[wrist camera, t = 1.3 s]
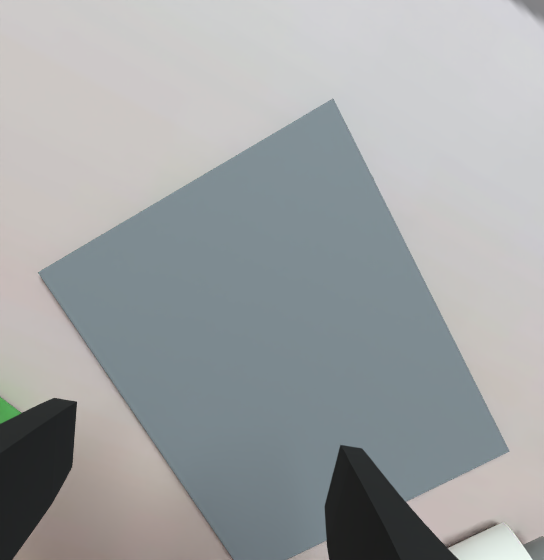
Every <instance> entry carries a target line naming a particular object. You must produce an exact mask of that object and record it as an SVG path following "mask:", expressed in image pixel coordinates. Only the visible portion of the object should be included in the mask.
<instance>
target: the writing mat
mask: <svg viewBox="0 0 544 560" xmlns="http://www.w3.org/2000/svg"><path fill="white" fill-rule="evenodd" d="M38 273H39V275H40V276H41V278H42V279H43V280H44V282H45V283H46V285H47V286H48V288H49V289H50V291H51V292H52V294H53V295H54V297H55V298H56V300H57V301H58V302H59V304H60V305H61V307H62V308H63V310H64V311H65V313H66V314H67V316H68V317H69V319H70V320H71V322H72V323H73V325H74V326H75V327H76V329H77V330H78V332H79V333H80V335H81V336H82V338H83V339H84V341H85V342H86V344H87V345H88V347H89V348H90V349H91V351H92V352H93V354H94V355H95V357H96V358H97V360H98V361H99V363H100V364H101V366H102V367H103V369H104V370H105V372H106V373H107V374H108V376H109V377H110V379H111V380H112V382H113V383H114V385H115V386H116V388H117V389H118V391H119V392H120V394H121V395H122V397H123V398H124V399H125V401H126V402H127V404H128V405H129V407H130V408H131V410H132V411H133V413H134V414H135V416H136V417H137V419H138V420H139V421H140V423H141V424H142V426H143V427H144V429H145V430H146V432H147V433H148V435H149V436H150V438H151V439H152V441H153V442H154V444H155V445H156V446H157V448H158V449H159V451H160V452H161V454H162V455H163V457H164V458H165V460H166V461H167V463H168V464H169V466H170V467H171V468H172V470H173V471H174V473H175V474H176V476H177V477H178V479H179V480H180V482H181V483H182V485H183V486H184V488H185V489H186V491H187V492H188V493H189V495H190V496H191V498H192V499H193V501H194V502H195V504H196V505H197V507H198V508H199V510H200V511H201V513H202V514H203V515H204V517H205V518H206V520H207V521H208V523H209V524H210V526H211V527H212V529H213V530H214V532H215V533H216V535H217V536H218V538H219V539H220V540H221V542H222V543H223V545H224V546H225V548H226V549H227V551H228V552H229V554H230V555H231V557H232V558H233V560H287V559H289V558H291V557H293V556H295V555H297V554H299V553H301V552H303V551H305V550H308V549H310V548H312V547H314V546H316V545H318V544H320V543H322V542H324V541H326V540H327V538H326V524H325V507H324V506H325V502H326V499H327V495H328V491H329V487H330V483H331V479H332V475H333V471H334V468H335V464H336V460H337V456H338V452H339V448H340V445H345V446H351V447H357V448H362V449H363V450H364V451H365V452H366V453H367V455H368V456H369V457H370V458H371V460H372V461H373V462H374V463H375V465H376V466H377V467H378V468H379V470H380V471H381V472H382V473H383V475H384V476H385V477H386V478H387V480H388V481H389V482H390V483H391V485H392V486H393V487H394V488H395V490H396V491H397V492H398V493H399V495H400V496H401V497H402V498H403V499H404V501H405V502H406V501H408V500H410V499H412V498H414V497H417V496H419V495H421V494H423V493H425V492H427V491H429V490H431V489H433V488H435V487H437V486H439V485H441V484H443V483H445V482H447V481H449V480H452V479H454V478H456V477H458V476H460V475H462V474H464V473H466V472H468V471H470V470H472V469H474V468H476V467H478V466H480V465H482V464H484V463H486V462H489V461H491V460H493V459H495V458H497V457H499V456H501V455H503V454H505V453H507V452H509V449H508V447H507V445H506V443H505V441H504V439H503V437H502V435H501V433H500V431H499V429H498V427H497V425H496V423H495V421H494V419H493V417H492V415H491V413H490V411H489V409H488V407H487V405H486V403H485V401H484V399H483V397H482V395H481V393H480V391H479V389H478V387H477V385H476V383H475V381H474V379H473V377H472V375H471V373H470V371H469V369H468V367H467V365H466V363H465V361H464V359H463V357H462V355H461V353H460V351H459V349H458V347H457V345H456V343H455V341H454V339H453V337H452V335H451V333H450V331H449V329H448V327H447V325H446V323H445V321H444V319H443V317H442V315H441V313H440V311H439V309H438V307H437V305H436V303H435V301H434V299H433V297H432V295H431V293H430V291H429V289H428V287H427V285H426V283H425V281H424V279H423V277H422V275H421V273H420V271H419V269H418V267H417V265H416V263H415V261H414V259H413V257H412V255H411V253H410V251H409V249H408V247H407V245H406V243H405V241H404V239H403V237H402V235H401V233H400V231H399V229H398V227H397V225H396V223H395V221H394V219H393V217H392V215H391V213H390V211H389V209H388V207H387V205H386V203H385V201H384V199H383V197H382V195H381V193H380V191H379V189H378V187H377V185H376V183H375V181H374V179H373V177H372V175H371V173H370V171H369V169H368V167H367V165H366V163H365V161H364V159H363V157H362V155H361V153H360V151H359V149H358V147H357V145H356V143H355V141H354V139H353V137H352V135H351V133H350V131H349V129H348V127H347V125H346V123H345V121H344V119H343V117H342V115H341V113H340V111H339V109H338V107H337V105H336V103H335V101H334V99H332V100H330V101H328V102H326V103H325V104H323V105H321V106H320V107H318V108H316V109H315V110H313V111H311V112H309V113H308V114H306V115H304V116H303V117H301V118H299V119H298V120H296V121H294V122H293V123H291V124H289V125H287V126H286V127H284V128H282V129H281V130H279V131H277V132H276V133H274V134H272V135H270V136H269V137H267V138H265V139H264V140H262V141H260V142H259V143H257V144H255V145H253V146H252V147H250V148H248V149H247V150H245V151H243V152H242V153H240V154H238V155H236V156H235V157H233V158H231V159H230V160H228V161H226V162H225V163H223V164H221V165H220V166H218V167H216V168H214V169H213V170H211V171H209V172H208V173H206V174H204V175H203V176H201V177H199V178H197V179H196V180H194V181H192V182H191V183H189V184H187V185H186V186H184V187H182V188H180V189H179V190H177V191H175V192H174V193H172V194H170V195H169V196H167V197H165V198H163V199H162V200H160V201H158V202H157V203H155V204H153V205H152V206H150V207H148V208H147V209H145V210H143V211H141V212H140V213H138V214H136V215H135V216H133V217H131V218H130V219H128V220H126V221H124V222H123V223H121V224H119V225H118V226H116V227H114V228H113V229H111V230H109V231H107V232H106V233H104V234H102V235H101V236H99V237H97V238H96V239H94V240H92V241H91V242H89V243H87V244H85V245H84V246H82V247H80V248H79V249H77V250H75V251H74V252H72V253H70V254H68V255H67V256H65V257H63V258H62V259H60V260H58V261H57V262H55V263H53V264H51V265H50V266H48V267H46V268H45V269H43V270H41V271H40V272H38Z"/></svg>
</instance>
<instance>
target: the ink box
mask: <svg viewBox="0 0 544 560" xmlns="http://www.w3.org/2000/svg"><path fill="white" fill-rule="evenodd" d="M19 414H21V412H19V411H18V410H17V409H15V408H14V407H13V406H11V405H10V404H9V403H7V402H6V401H5V400H3V399H2V398H1V397H0V424H1V423H3V422H5V421H7V420H9V419H11V418H13V417H15V416H17V415H19Z"/></svg>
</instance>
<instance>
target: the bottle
mask: <svg viewBox="0 0 544 560" xmlns="http://www.w3.org/2000/svg"><path fill="white" fill-rule="evenodd" d="M448 549H449V550H450V551H451V552H452V553H453V554H454V555H455V556H456V557H457V558H458V559H459V560H544V537H543V536H541V537H539V538H537V539H535V540H533V541H531V542H528V543H526V544H524V545H522V544H521V542H520V541H519V539H518V538H517V537H516V535H515V534H514V533H513V531H512V530H511V529H510V528H509V527H508V525H507V524H506V523H505V522H502V523H500V524H498V525H496V526H494V527H491V528H489V529H487V530H485V531H483V532H481V533H479V534H477V535H474V536H472V537H470V538H468V539H466V540H464V541H462V542H460V543H457V544H455V545H453V546H451V547H449V548H448Z"/></svg>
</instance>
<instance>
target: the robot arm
mask: <svg viewBox="0 0 544 560" xmlns="http://www.w3.org/2000/svg"><path fill="white" fill-rule="evenodd" d="M76 408H77V402H75V401H69V400H63V399H57V398H53V399H51V400H48V401H46V402H44V403H42V404H39V405H37V406H35V407H33V408H31V409H29V410H27V411H25V412H23V413H21V414H19V415H17V416H15V417H13V418H11V419H9V420H7V421H5V422H3V423H1V424H0V560H12V559H13V558H14V556H15V555H16V554H17V552H18V551H19V549H20V548H21V547H22V545H23V544H24V543H25V541H26V540H27V538H28V537H29V536H30V534H31V533H32V531H33V530H34V528H35V527H36V526H37V524H38V523H39V521H40V520H41V519H42V517H43V516H44V514H45V513H46V511H47V510H48V509H49V507H50V506H51V504H52V502H53V501H54V499H55V497H56V495H57V494H58V492H59V490H60V488H61V487H62V485H63V483H64V481H65V479H66V477H67V476H68V474H69V472H70V470H71V468H72V463H73V449H74V435H75V421H76ZM324 507H325V524H326V538H327V548H328V554H329V560H459V559H458V558H457V557H456V556H455V555H454V554H453V553H452V552H451V551H450V550H449V549H448V548H447V547H446V546H445V545H444V544H443V543H442V542H441V541H440V540H439V539H438V538H437V537H436V535H435V534H434V533H433V532H432V531H431V530H430V529H429V528H428V527H427V526H426V525H425V524H424V523H423V521H422V520H421V519H420V518H419V517H418V516H417V515H416V513H415V512H414V511H413V510H412V509H411V508H410V506H409V505H408V504H407V503H406V502H405V501H404V499H403V498H402V497H401V496H400V495H399V493H398V492H397V491H396V490H395V488H394V487H393V486H392V485H391V483H390V482H389V481H388V480H387V478H386V477H385V476H384V475H383V473H382V472H381V471H380V470H379V468H378V467H377V466H376V465H375V463H374V462H373V461H372V460H371V458H370V457H369V456H368V455H367V453H366V452H365V451H364V450H363V449H362V448H357V447H351V446H345V445H340V448H339V452H338V456H337V460H336V464H335V468H334V471H333V475H332V479H331V483H330V487H329V491H328V495H327V499H326V502H325V506H324Z"/></svg>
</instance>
